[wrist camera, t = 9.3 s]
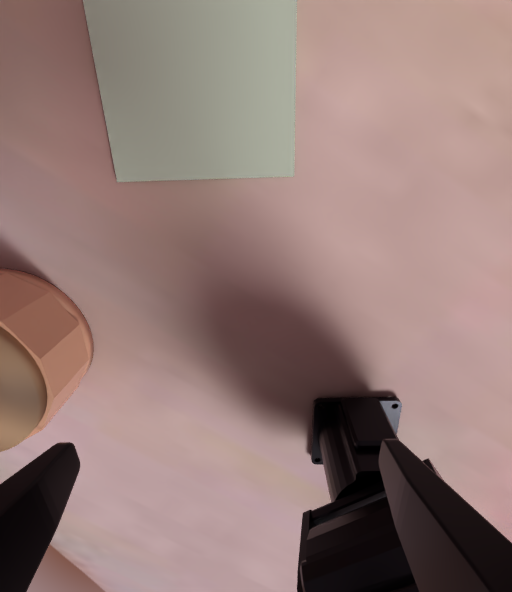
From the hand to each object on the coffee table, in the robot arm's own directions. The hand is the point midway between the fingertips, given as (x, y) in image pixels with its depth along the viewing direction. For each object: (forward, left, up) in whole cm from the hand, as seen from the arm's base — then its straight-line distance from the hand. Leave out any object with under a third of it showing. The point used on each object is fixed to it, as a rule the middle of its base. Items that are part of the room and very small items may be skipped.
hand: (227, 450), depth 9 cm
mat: (+12, +2, -12) cm, 17 cm away
